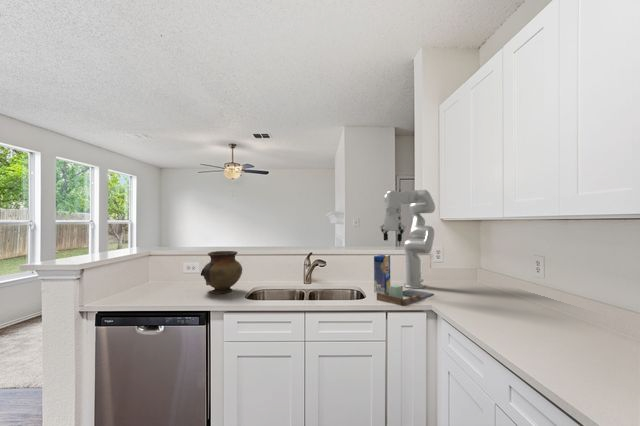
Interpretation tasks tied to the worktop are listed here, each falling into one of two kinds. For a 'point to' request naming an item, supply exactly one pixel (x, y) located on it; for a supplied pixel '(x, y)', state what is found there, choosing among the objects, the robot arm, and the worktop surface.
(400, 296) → the block
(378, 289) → the beverage box
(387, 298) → the brown wooden frame
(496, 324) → the worktop surface
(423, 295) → the mat
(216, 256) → the pot
